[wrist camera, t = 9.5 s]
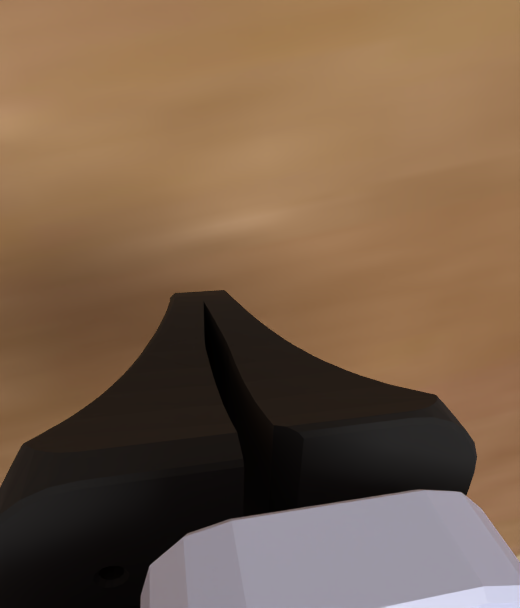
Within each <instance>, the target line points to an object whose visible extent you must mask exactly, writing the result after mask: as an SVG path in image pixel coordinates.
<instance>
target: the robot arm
mask: <svg viewBox="0 0 520 608" xmlns="http://www.w3.org/2000/svg"><path fill="white" fill-rule="evenodd" d="M476 460H477V454H476V449H475V443H474V441H473V440H472V438H471V437H470V435H469V434H468V432H467V431H466V430H465V428H464V427H463V426H462V425H461V424H460V422H459V421H458V420H457V419H456V417H455V416H454V415H453V414H452V413H451V411H450V410H449V409H448V408H447V407H446V406H445V404H444V403H443V402H442V401H441V400H440V399H439V398H438V397H437V396H436V395H434V394H429V393H425V392H420V391H416V390H411V389H407V388H402V387H398V386H394V385H390V384H386V383H383V382H379V381H376V380H373V379H370V378H366V377H363V376H360V375H358V374H355V373H352V372H349V371H346V370H344V369H342V368H339V367H337V366H334V365H332V364H330V363H327V362H325V361H323V360H321V359H319V358H317V357H314V356H313V355H311V354H309V353H307V352H305V351H303V350H302V349H300V348H298V347H296V346H294V345H293V344H291V343H289V342H288V341H286V340H285V339H283V338H282V337H280V336H279V335H277V334H276V333H274V332H273V331H272V330H270V329H269V328H267V327H266V326H265V325H263V324H262V323H261V322H260V321H258V320H257V319H256V318H255V317H253V316H252V315H251V314H250V313H249V312H248V311H246V310H245V309H244V308H243V307H242V306H241V305H240V304H239V303H238V302H237V301H236V300H234V299H233V298H232V297H231V296H230V295H229V294H228V293H227V292H226V291H225V290H219V291H203V292H187V293H175V294H174V295H173V296H172V297H171V298H170V303H169V306H168V309H167V311H166V313H165V316H164V318H163V320H162V322H161V323H160V325H159V327H158V329H157V331H156V333H155V334H154V336H153V337H152V339H151V340H150V342H149V343H148V345H147V346H146V348H145V349H144V351H143V352H142V353H141V355H140V356H139V357H138V359H137V360H136V361H135V362H134V363H133V365H132V366H131V367H130V368H129V369H128V370H127V371H126V372H125V374H124V375H123V376H122V377H121V378H120V379H119V380H118V381H116V382H115V383H114V384H113V385H112V386H111V387H110V388H109V389H108V390H107V391H106V392H104V393H103V394H102V395H101V396H99V397H98V398H97V399H96V400H94V401H93V402H92V403H90V404H89V405H88V406H86V407H85V408H83V409H82V410H80V411H79V412H77V413H76V414H74V415H73V416H71V417H70V418H68V419H67V420H65V421H63V422H62V423H60V424H58V425H56V426H55V427H53V428H51V429H49V430H47V431H46V432H44V433H42V434H40V435H39V436H37V437H35V438H33V439H31V440H29V441H27V442H25V443H24V444H23V445H22V446H21V448H20V450H19V452H18V454H17V456H16V458H15V460H14V461H13V463H12V465H11V467H10V469H9V471H8V473H7V475H6V477H5V479H4V481H3V483H2V485H1V487H0V608H520V562H519V560H518V559H517V557H516V556H515V555H514V553H513V552H512V551H511V549H510V548H509V546H508V545H507V544H506V542H505V541H504V539H503V538H502V537H501V535H500V534H499V532H498V531H497V530H496V528H495V527H494V526H493V524H492V523H491V521H490V520H489V519H488V517H487V516H486V514H485V513H484V512H483V510H482V509H481V508H480V507H479V506H478V505H476V504H475V503H474V502H473V501H471V500H470V499H469V498H468V497H467V496H466V495H467V492H468V489H469V486H470V483H471V480H472V477H473V474H474V470H475V465H476Z"/></svg>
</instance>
